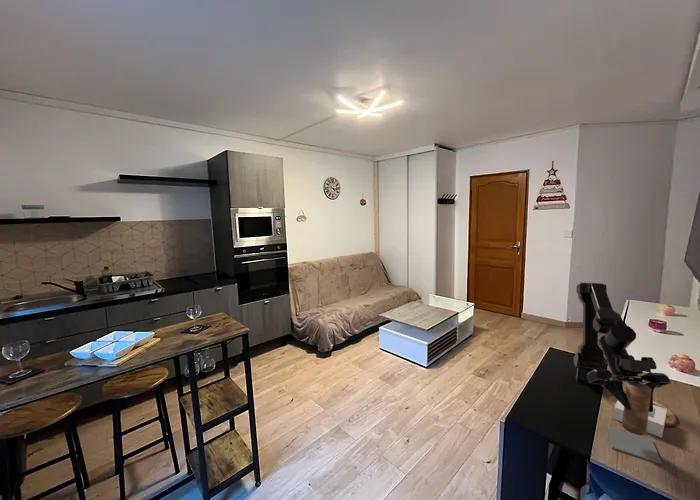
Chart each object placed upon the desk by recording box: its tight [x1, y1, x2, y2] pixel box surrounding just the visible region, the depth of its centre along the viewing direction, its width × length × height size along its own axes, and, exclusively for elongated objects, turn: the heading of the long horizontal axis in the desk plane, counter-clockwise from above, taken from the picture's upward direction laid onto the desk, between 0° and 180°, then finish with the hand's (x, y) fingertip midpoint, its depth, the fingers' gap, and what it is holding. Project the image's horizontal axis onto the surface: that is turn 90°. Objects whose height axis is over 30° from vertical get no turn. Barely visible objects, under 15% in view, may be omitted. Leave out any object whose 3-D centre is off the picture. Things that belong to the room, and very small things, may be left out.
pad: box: [606, 425, 663, 466], centre depth 86 cm, size 10×10×1 cm
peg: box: [621, 381, 651, 436], centre depth 85 cm, size 5×5×13 cm
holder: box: [612, 399, 668, 439], centre depth 96 cm, size 11×11×4 cm
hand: (640, 410), depth 83 cm, fingers closed on peg, 5 cm apart
